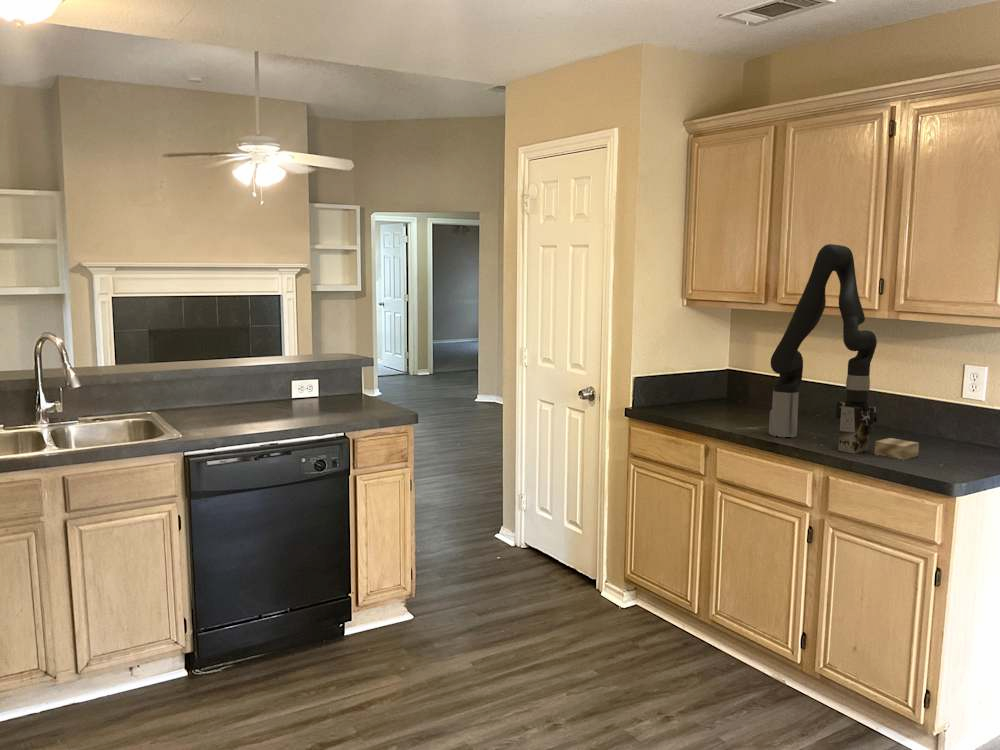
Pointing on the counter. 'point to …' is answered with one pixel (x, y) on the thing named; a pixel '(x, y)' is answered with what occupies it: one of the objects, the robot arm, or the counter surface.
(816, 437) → the counter surface
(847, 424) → the coffee box
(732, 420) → the counter surface
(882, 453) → the maple block
